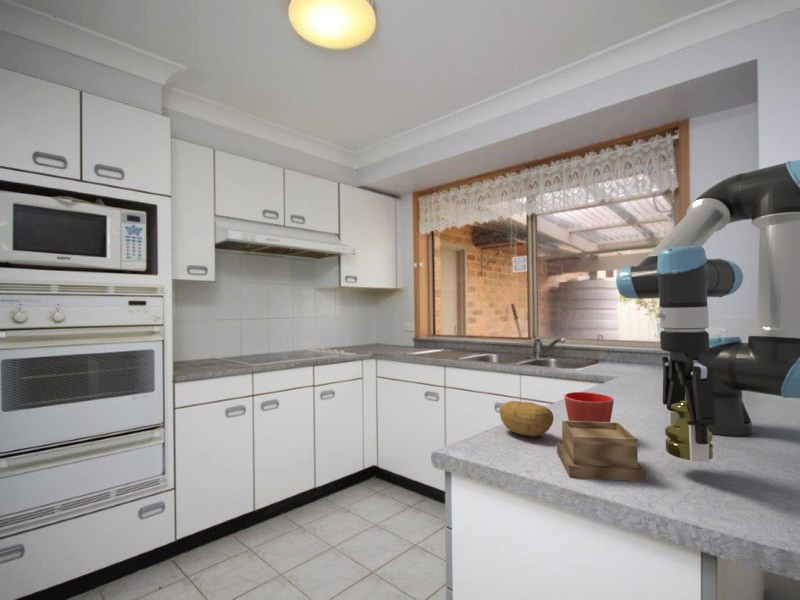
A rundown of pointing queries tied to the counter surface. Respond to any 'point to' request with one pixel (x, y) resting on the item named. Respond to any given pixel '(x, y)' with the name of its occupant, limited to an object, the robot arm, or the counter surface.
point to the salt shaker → (682, 433)
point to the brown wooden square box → (599, 451)
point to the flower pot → (588, 407)
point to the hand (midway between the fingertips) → (688, 452)
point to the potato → (526, 418)
